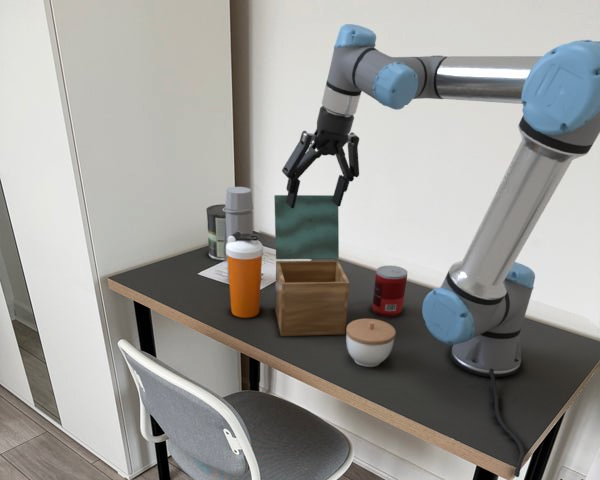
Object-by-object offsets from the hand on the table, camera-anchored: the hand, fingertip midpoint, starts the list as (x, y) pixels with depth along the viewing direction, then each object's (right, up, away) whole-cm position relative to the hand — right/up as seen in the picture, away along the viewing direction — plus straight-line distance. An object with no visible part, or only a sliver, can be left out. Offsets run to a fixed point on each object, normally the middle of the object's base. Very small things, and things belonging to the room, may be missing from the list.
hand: (313, 204), depth 139 cm
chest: (-1, -27, +8) cm, 28 cm away
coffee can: (-26, -1, +44) cm, 52 cm away
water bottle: (-21, -12, +28) cm, 37 cm away
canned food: (+20, -23, +15) cm, 34 cm away
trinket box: (+12, -37, -7) cm, 40 cm away
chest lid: (-1, -4, +4) cm, 6 cm away
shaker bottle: (-17, -24, +11) cm, 32 cm away
